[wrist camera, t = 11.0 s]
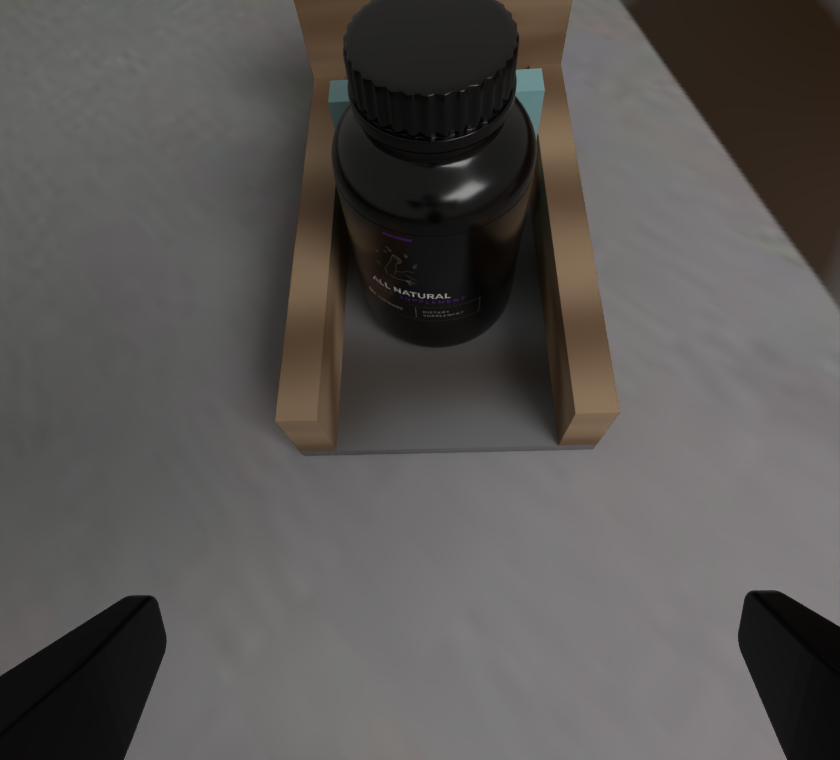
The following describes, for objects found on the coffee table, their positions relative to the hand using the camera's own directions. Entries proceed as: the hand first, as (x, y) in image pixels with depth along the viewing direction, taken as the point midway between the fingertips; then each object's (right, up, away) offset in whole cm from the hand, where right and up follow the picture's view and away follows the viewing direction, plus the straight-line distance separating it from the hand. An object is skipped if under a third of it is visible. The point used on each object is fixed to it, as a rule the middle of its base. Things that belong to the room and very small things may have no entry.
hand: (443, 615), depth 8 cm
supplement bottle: (+1, +8, +17) cm, 19 cm away
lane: (+1, +9, +18) cm, 21 cm away
